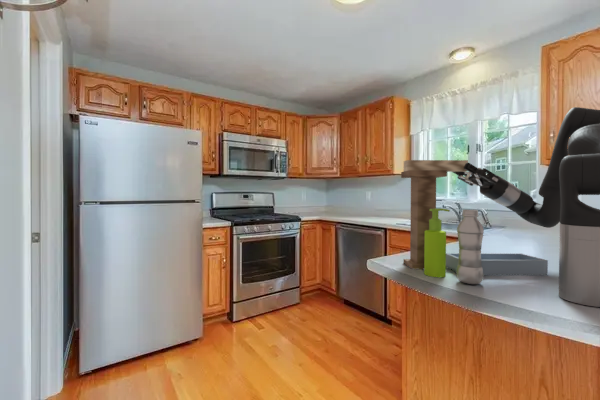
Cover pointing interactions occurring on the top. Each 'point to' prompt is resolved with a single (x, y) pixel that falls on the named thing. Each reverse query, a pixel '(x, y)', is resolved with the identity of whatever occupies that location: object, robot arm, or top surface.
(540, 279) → the top surface
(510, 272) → the slate tray
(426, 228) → the walnut stand
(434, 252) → the soap dispenser
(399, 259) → the top surface
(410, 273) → the top surface
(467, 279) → the plastic bottle
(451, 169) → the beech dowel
